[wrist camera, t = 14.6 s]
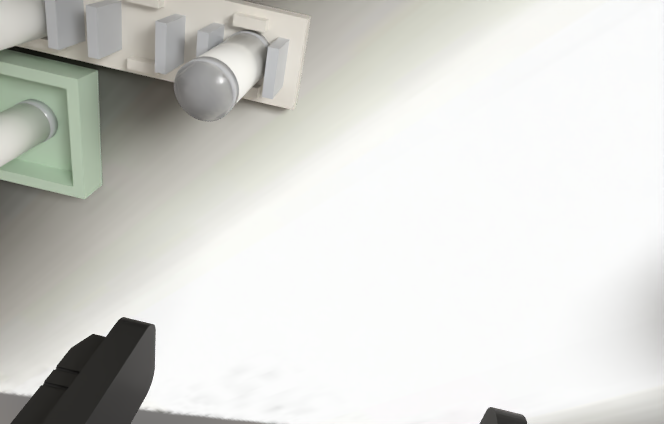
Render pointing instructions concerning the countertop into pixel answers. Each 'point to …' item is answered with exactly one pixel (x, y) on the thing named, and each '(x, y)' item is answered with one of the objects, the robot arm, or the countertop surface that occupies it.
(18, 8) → the cylinder
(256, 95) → the holder
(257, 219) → the countertop surface
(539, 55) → the countertop surface
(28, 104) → the fuse marked
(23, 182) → the tray
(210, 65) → the white capsule
